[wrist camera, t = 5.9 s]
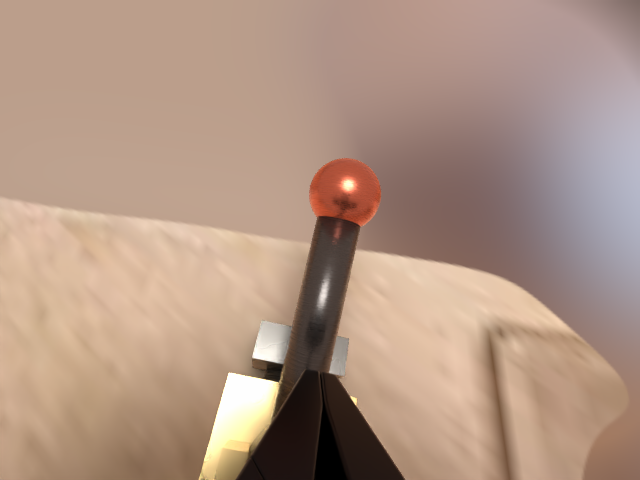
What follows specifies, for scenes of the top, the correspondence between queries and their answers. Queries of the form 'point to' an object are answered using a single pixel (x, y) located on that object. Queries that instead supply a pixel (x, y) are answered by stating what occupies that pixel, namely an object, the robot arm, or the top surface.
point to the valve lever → (327, 266)
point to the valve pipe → (254, 403)
